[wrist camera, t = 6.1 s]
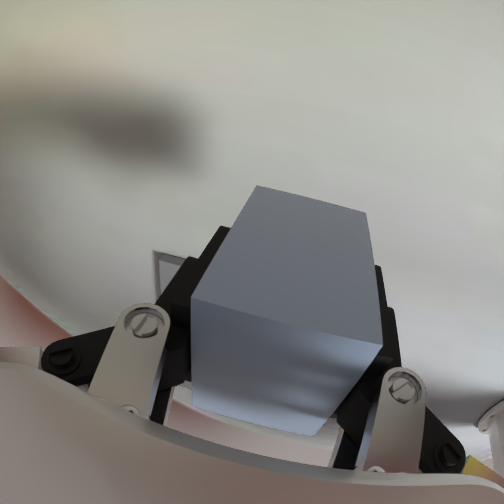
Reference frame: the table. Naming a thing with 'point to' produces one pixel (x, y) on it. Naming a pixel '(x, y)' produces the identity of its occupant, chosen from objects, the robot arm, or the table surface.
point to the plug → (285, 313)
